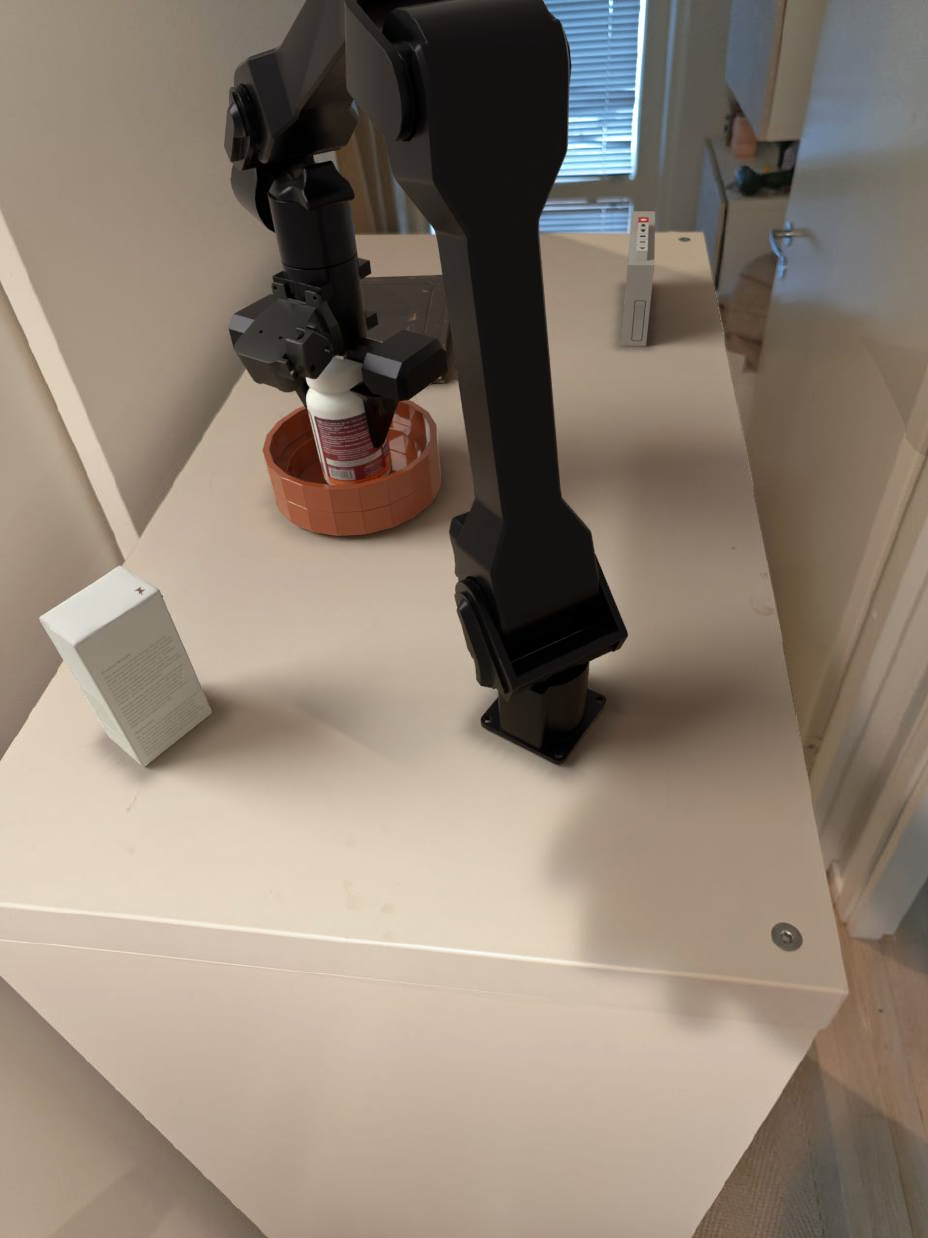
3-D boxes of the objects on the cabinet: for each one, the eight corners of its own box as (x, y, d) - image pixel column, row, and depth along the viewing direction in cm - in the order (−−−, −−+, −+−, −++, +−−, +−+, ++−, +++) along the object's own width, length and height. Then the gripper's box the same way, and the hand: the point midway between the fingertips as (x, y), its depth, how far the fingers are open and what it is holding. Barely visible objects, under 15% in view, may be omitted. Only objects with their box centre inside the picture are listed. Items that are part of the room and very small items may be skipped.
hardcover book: (457, 292, 107) (456, 273, 106) (444, 383, 91) (443, 363, 89) (333, 295, 109) (330, 278, 107) (298, 386, 92) (294, 367, 91)
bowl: (371, 562, 70) (362, 509, 67) (242, 506, 77) (226, 455, 73) (473, 471, 79) (470, 419, 75) (349, 427, 86) (340, 378, 82)
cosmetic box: (177, 686, 62) (122, 561, 53) (214, 714, 60) (162, 588, 51) (106, 740, 58) (35, 616, 50) (142, 771, 56) (74, 647, 48)
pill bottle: (404, 476, 76) (386, 359, 68) (343, 502, 74) (317, 384, 66) (371, 447, 80) (350, 333, 72) (312, 471, 78) (284, 356, 70)
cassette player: (625, 286, 106) (632, 202, 99) (647, 286, 105) (656, 202, 98) (621, 345, 95) (628, 255, 88) (645, 346, 95) (655, 255, 88)
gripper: (152, 270, 63) (208, 451, 73) (344, 323, 54) (375, 517, 65) (258, 221, 69) (295, 394, 80) (444, 261, 61) (457, 448, 72)
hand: (350, 435), depth 74 cm, fingers closed on pill bottle, 6 cm apart
